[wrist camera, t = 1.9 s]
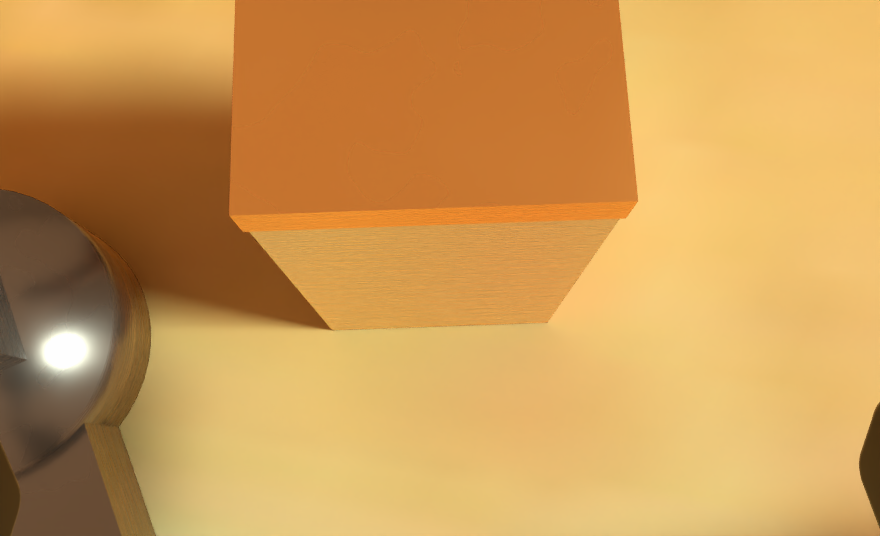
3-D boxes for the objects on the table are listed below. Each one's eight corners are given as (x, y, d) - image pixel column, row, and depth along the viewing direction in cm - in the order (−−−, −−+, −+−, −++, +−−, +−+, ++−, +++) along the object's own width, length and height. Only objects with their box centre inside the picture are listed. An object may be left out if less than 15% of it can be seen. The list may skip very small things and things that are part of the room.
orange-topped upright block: (549, 324, 21) (638, 201, 11) (329, 332, 21) (228, 215, 11) (535, 121, 22) (604, -146, 13) (330, 128, 22) (238, -133, 13)
